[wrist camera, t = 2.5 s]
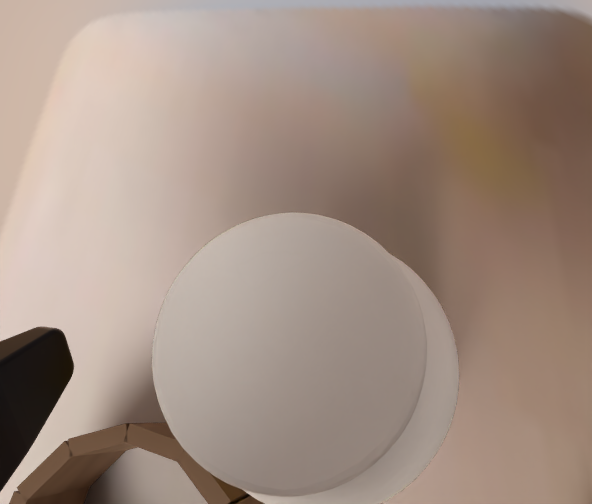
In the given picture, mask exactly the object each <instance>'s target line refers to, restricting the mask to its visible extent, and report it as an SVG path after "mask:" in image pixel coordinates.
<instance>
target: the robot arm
mask: <svg viewBox="0 0 592 504" xmlns="http://www.w3.org/2000/svg"><path fill="white" fill-rule="evenodd" d="M73 370H74V363H73V360H72V356H71V353H70V350H69V347H68V344H67V340H66V337H65V335H64V333H63V332H62V331H61V330H59V329H57V328H50V327H36V328H33V329H31V330H28V331H26V332H23V333H21V334H18V335H16V336H13V337H11V338H8V339H6V340H3V341H1V342H0V492H1V490H2V489H3V487H4V486H5V484H6V483H7V482H8V480H9V479H10V477H11V476H12V474H13V473H14V472H15V470H16V469H17V467H18V466H19V464H20V463H21V461H22V460H23V459H24V457H25V456H26V454H27V453H28V451H29V449H30V448H31V446H32V444H33V443H34V441H35V440H36V438H37V436H38V434H39V433H40V431H41V429H42V427H43V426H44V424H45V422H46V420H47V419H48V417H49V415H50V414H51V412H52V410H53V408H54V407H55V405H56V403H57V401H58V400H59V398H60V396H61V394H62V393H63V391H64V389H65V388H66V386H67V384H68V382H69V381H70V379H71V377H72V374H73Z"/></svg>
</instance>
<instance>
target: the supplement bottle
mask: <svg viewBox="0 0 592 504" xmlns="http://www.w3.org/2000/svg"><path fill="white" fill-rule="evenodd" d="M152 371H153V382H154V386H155V391H156V395H157V399H158V402H159V405H160V408H161V411H162V413H163V415H164V417H165V419H166V421H167V424H168V426H169V428H170V430H171V432H172V433H173V435H174V436H175V438H176V439H177V441H178V442H179V443H180V445H181V446H182V448H183V449H184V450H185V451H186V452H187V453H188V454H189V455H190V456H191V457H192V458H193V459H194V460H195V461H196V462H197V463H198V464H199V465H200V466H202V467H203V468H204V469H205V470H207V471H208V472H210V473H211V474H212V475H214V476H215V477H217V478H219V479H220V480H222V481H224V482H226V483H228V484H230V485H232V486H235V487H237V488H240V489H242V490H244V491H245V492H246V493H248V494H249V495H251V496H252V497H254V498H255V499H257V500H258V501H260V502H263V503H265V504H381V503H383V502H385V501H387V500H388V499H390V498H391V497H393V496H394V495H396V494H397V493H399V492H400V491H402V490H404V489H405V488H406V487H407V486H408V485H409V484H410V483H411V482H413V481H414V480H415V479H416V478H417V477H418V476H419V475H420V474H421V473H422V471H423V470H424V469H425V468H426V467H427V466H428V464H429V463H430V462H431V460H432V459H433V458H434V456H435V455H436V453H437V451H438V450H439V448H440V446H441V445H442V443H443V441H444V439H445V437H446V435H447V433H448V430H449V428H450V425H451V422H452V419H453V415H454V412H455V408H456V404H457V397H458V390H459V360H458V353H457V348H456V344H455V340H454V336H453V332H452V329H451V327H450V324H449V321H448V319H447V317H446V315H445V313H444V311H443V309H442V307H441V305H440V303H439V301H438V300H437V298H436V296H435V295H434V294H433V292H432V291H431V290H430V288H429V287H428V286H427V285H426V284H425V282H424V281H423V280H422V279H421V278H420V277H419V276H418V275H417V274H416V273H415V272H414V271H413V270H412V269H411V268H410V267H408V266H407V265H406V264H405V263H403V262H402V261H401V260H399V259H397V258H396V257H394V256H393V255H391V254H389V253H388V252H387V251H386V250H385V249H384V248H383V247H382V246H381V245H380V244H379V243H378V242H376V241H375V240H374V239H372V238H371V237H370V236H368V235H367V234H365V233H364V232H362V231H360V230H358V229H357V228H355V227H353V226H351V225H349V224H347V223H344V222H342V221H339V220H337V219H333V218H330V217H326V216H322V215H318V214H310V213H300V212H288V213H277V214H271V215H266V216H262V217H257V218H253V219H251V220H248V221H246V222H243V223H240V224H238V225H236V226H234V227H232V228H230V229H228V230H227V231H225V232H223V233H222V234H220V235H218V236H217V237H216V238H214V239H213V240H211V241H210V242H209V243H207V244H206V245H205V246H204V247H203V248H201V249H200V250H199V251H198V252H197V253H196V254H195V255H194V256H193V257H192V258H191V260H190V261H189V262H188V263H187V264H186V265H185V267H184V268H183V269H182V270H181V272H180V273H179V274H178V276H177V277H176V279H175V281H174V282H173V284H172V286H171V287H170V289H169V291H168V293H167V295H166V297H165V299H164V302H163V304H162V307H161V310H160V313H159V316H158V319H157V323H156V328H155V333H154V338H153V346H152Z"/></svg>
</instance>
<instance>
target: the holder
mask: <svg viewBox="0 0 592 504" xmlns="http://www.w3.org/2000/svg"><path fill="white" fill-rule="evenodd" d="M68 440H69V441H64V442H63V443H62V444H61V445H60V446H59V447H58V448H57V449H56V450H55V451H54V452H53V453H52V454H51V455H50V456H49V457H48V458H47V459H46V460H45V461H44V462H43V463H42V464H41V465H40V466H39V467H37V468H36V469H35V470H34V471H33V472H32V473H31V474H30V475H29V476H28V477H27V478H26V479H25V480H24V481H23V482H22V483H21V484H20V485H19V486H18V487H17V489H18V490H19V491H15V492H14V493H13V496H12V498H11V501H10V503H9V504H84V501H85V498H86V496H87V493H88V490H89V488H90V486H91V485H92V484H93V483H94V482H95V481H96V480H97V479H98V478H99V477H100V476H101V475H102V474H103V473H104V472H105V471H106V470H107V469H108V468H109V467H110V466H111V465H112V464H113V463H114V462H115V461H116V460H117V459H118V458H119V457H120V456H121V455H122V454H123V453H124V452H125V451H126V450H129V449H133V448H137V447H139V448H142V449H144V450H147V451H150V452H153V453H155V454H158V455H161V456H163V457H166V458H169V459H172V460H174V461H177V462H178V463H179V465H180V466H181V467H182V469H183V470H184V471H185V473H186V474H187V475H188V477H189V478H190V480H191V481H192V482H193V484H194V485H195V486H196V488H197V489H198V490H199V492H200V493H201V495H202V496H203V497H204V499H205V500H206V501H207V503H208V504H265V503H263V502H260V501H258V500H257V499H255V498H254V497H252V496H251V495H249V494H248V493H246V492H245V491H244V490H242V489H240V488H237V487H235V486H232V485H230V484H228V483H226V482H224V481H222V480H220V479H219V478H217V477H215V476H214V475H212V474H211V473H210V472H208V471H207V470H205V469H204V468H203V467H202V466H200V465H199V464H198V463H197V462H196V461H195V460H194V459H193V458H192V457H191V456H190V455H189V454H188V453H187V452H186V451H185V450H184V449H183V448H182V446H181V445H180V443H179V442H178V441H177V439H176V438H175V436H174V435H173V433H172V432H171V430H170V428H169V426H168V424H167V423H126V424H122V425H118V426H115V427H111V428H107V429H103V430H100V431H96V432H92V433H88V434H85V435H81V436H77V437H74V438H70V439H68Z"/></svg>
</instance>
